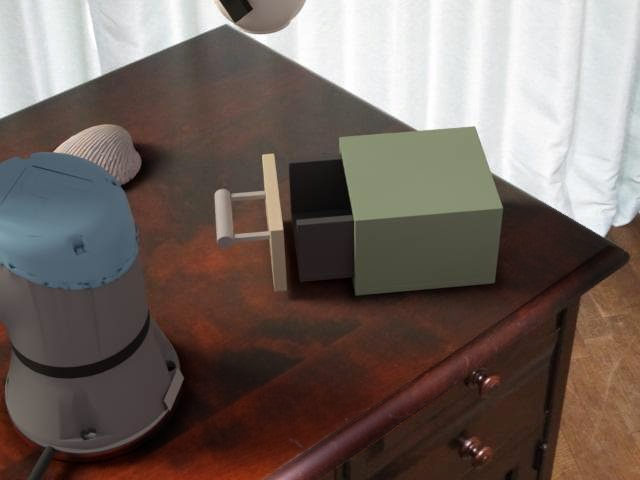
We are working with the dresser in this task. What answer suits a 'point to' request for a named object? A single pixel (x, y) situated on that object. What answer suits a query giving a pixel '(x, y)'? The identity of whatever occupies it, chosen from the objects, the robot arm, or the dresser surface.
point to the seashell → (106, 150)
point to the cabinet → (421, 210)
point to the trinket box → (266, 15)
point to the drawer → (300, 219)
